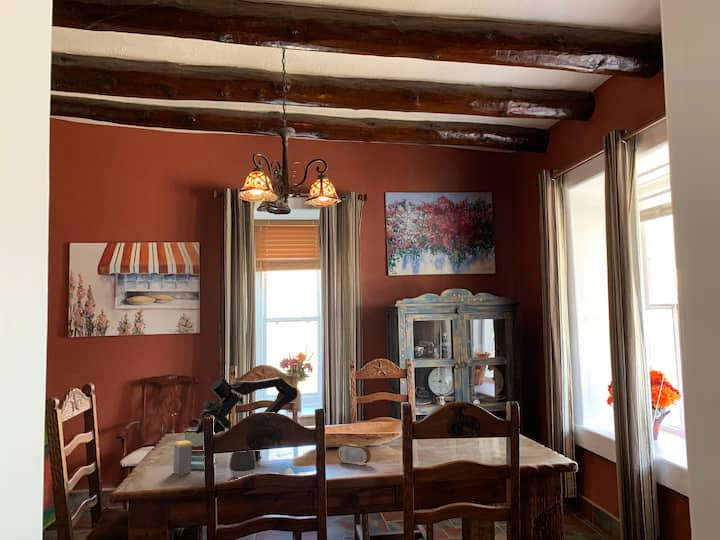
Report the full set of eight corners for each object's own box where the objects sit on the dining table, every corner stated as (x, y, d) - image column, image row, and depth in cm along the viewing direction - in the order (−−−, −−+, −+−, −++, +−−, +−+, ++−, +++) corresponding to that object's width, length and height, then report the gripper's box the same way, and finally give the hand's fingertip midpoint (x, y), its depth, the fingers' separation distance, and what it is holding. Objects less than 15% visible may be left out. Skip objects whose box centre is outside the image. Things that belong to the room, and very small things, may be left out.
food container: (213, 448, 245) (214, 427, 246) (208, 452, 239) (209, 429, 240) (188, 447, 246) (189, 426, 247) (182, 451, 240) (183, 429, 241)
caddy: (185, 470, 210) (186, 440, 211) (191, 473, 206) (192, 442, 207) (173, 472, 206) (174, 441, 208) (178, 475, 203) (179, 444, 204)
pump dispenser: (223, 477, 202) (224, 437, 203) (245, 471, 209) (246, 433, 211) (238, 482, 195) (240, 441, 196) (261, 476, 202) (262, 437, 204)
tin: (370, 465, 220) (371, 445, 220) (367, 467, 217) (368, 446, 218) (339, 461, 226) (339, 441, 227) (336, 462, 223) (336, 442, 224)
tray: (216, 462, 222) (216, 457, 222) (205, 470, 210) (205, 464, 211) (191, 461, 223) (191, 456, 223) (179, 468, 212) (179, 463, 212)
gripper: (205, 390, 225) (179, 419, 216) (225, 395, 211) (198, 426, 202) (221, 407, 229) (196, 436, 221) (241, 413, 215) (216, 444, 207)
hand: (201, 435), depth 213 cm, fingers open, 9 cm apart
